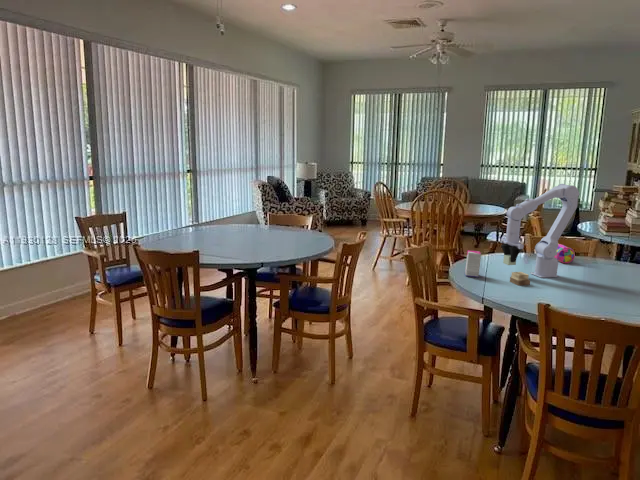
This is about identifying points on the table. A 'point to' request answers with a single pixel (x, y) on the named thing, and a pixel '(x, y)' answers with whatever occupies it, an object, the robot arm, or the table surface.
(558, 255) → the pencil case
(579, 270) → the table surface
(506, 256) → the top block
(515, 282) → the tower base
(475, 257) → the supplement box
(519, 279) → the tower mid
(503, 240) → the robot arm
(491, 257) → the table surface
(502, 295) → the table surface
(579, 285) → the table surface
